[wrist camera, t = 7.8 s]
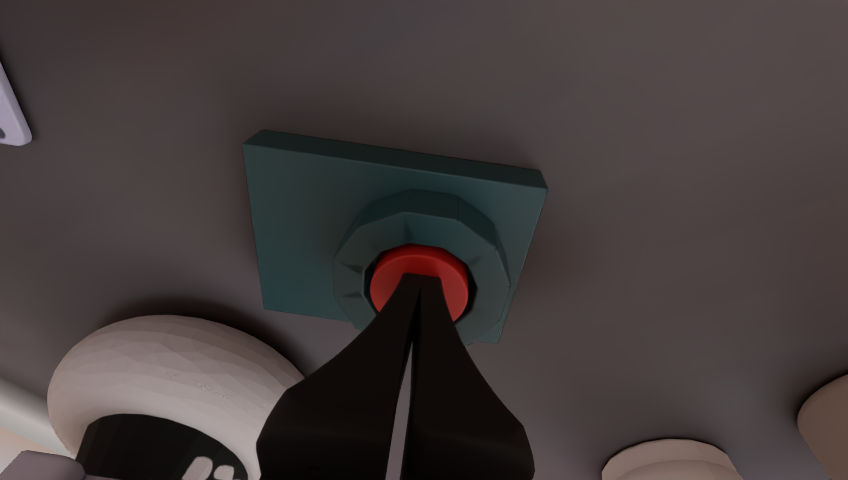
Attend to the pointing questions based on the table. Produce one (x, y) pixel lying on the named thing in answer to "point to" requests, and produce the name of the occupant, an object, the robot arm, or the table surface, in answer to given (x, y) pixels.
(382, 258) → the stop button
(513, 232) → the button box
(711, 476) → the bottle
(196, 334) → the decorative figurine
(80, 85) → the table surface
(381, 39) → the table surface
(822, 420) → the coffee cup
